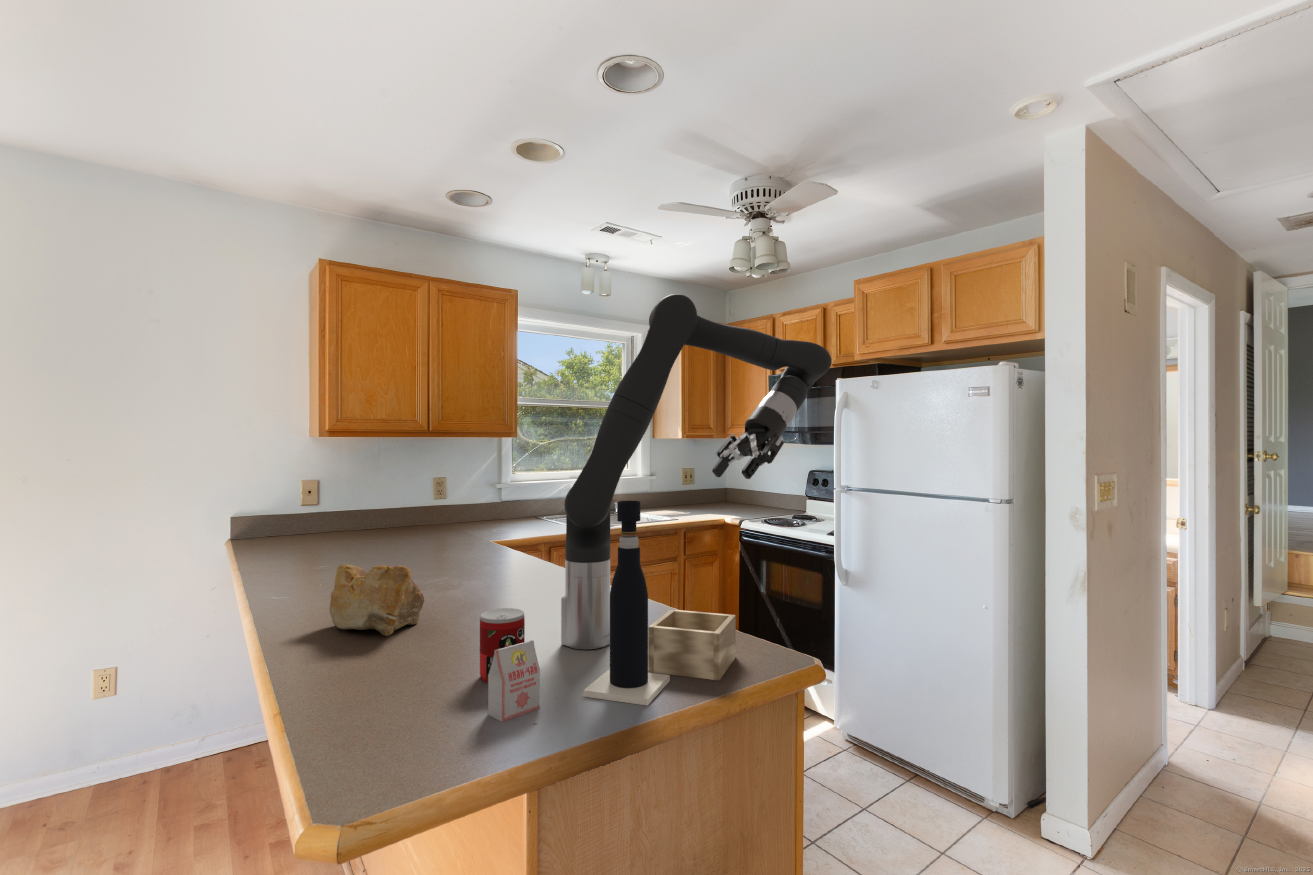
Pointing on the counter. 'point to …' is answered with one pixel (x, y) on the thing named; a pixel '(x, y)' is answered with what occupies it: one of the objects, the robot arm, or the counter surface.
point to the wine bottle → (628, 606)
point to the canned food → (499, 634)
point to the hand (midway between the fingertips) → (729, 475)
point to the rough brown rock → (375, 598)
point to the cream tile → (627, 689)
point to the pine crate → (692, 644)
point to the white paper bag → (514, 681)
